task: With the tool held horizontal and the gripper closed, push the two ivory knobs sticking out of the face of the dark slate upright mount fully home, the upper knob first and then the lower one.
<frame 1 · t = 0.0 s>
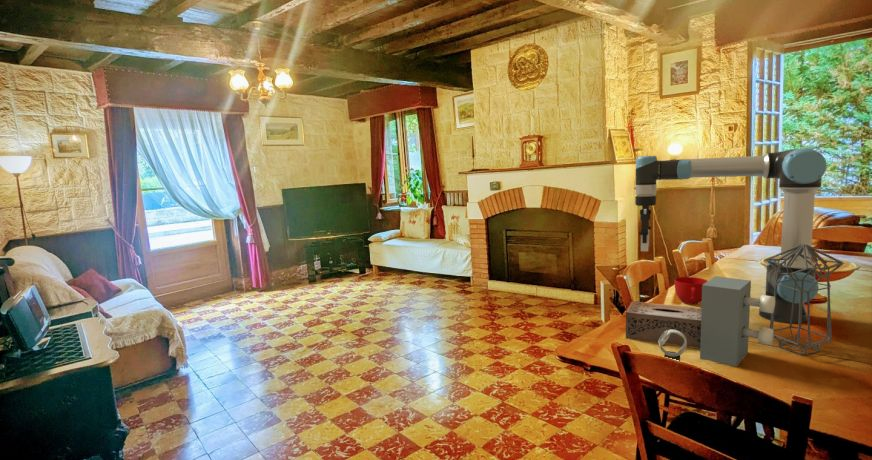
hand: (644, 248, 189), 28 cm above the table, tool pointing down, fingers open, 13 cm apart
knob mount: (742, 359, 147), on the table
lower knob: (754, 333, 144), point 9 cm above the table, slide at 4.0 cm
geometric lantern: (797, 350, 152), on the table
upper knob: (755, 302, 143), point 19 cm above the table, slide at 4.0 cm
watch: (671, 365, 146), on the table
ceramic cup: (691, 304, 205), on the table
tissue box cover: (666, 337, 169), on the table
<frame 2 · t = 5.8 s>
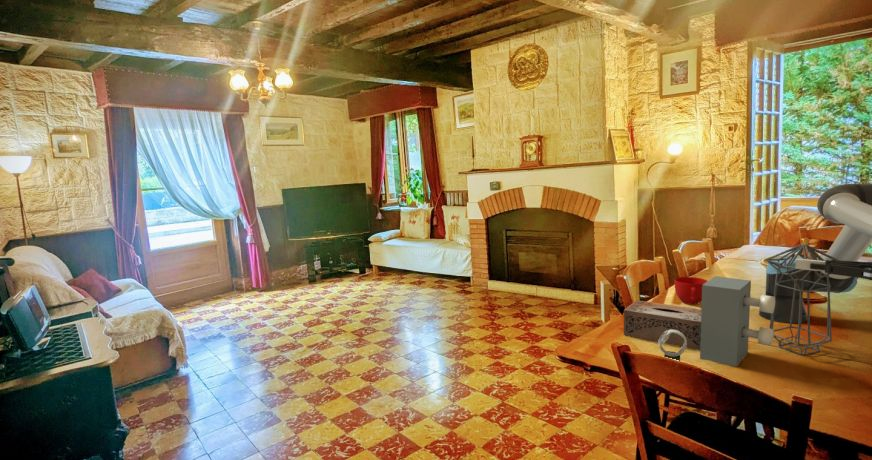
hand: (796, 263, 134), 32 cm above the table, tool horizontal, fingers closed
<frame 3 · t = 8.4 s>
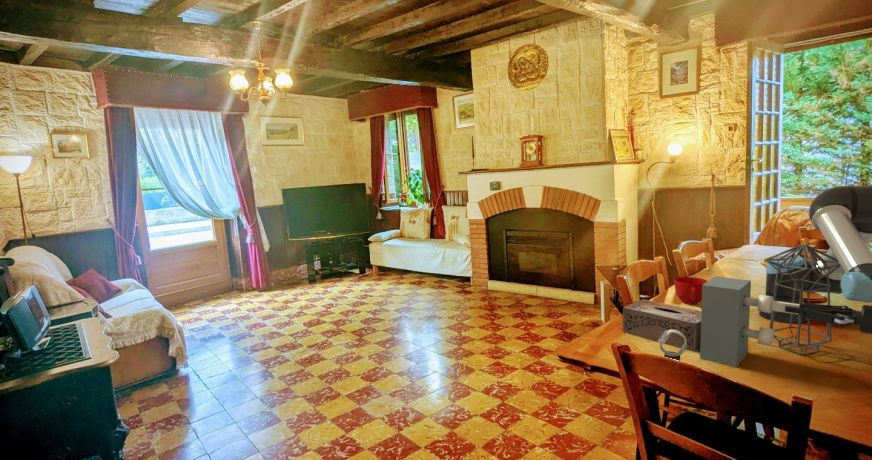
hand: (772, 305, 140), 19 cm above the table, tool horizontal, fingers closed
upper knob: (753, 302, 143), point 19 cm above the table, slide at 3.5 cm, touching gripper
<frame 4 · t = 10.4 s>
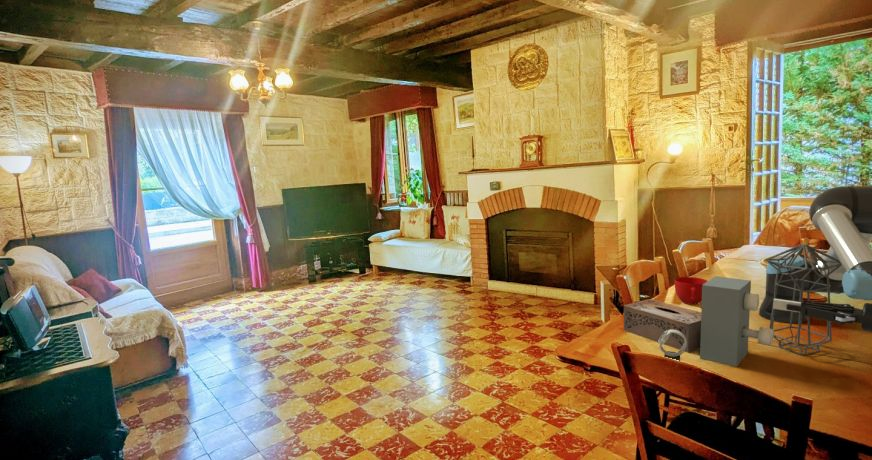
hand: (773, 303, 139), 19 cm above the table, tool horizontal, fingers closed
upper knob: (739, 300, 145), point 19 cm above the table, slide at -0.1 cm
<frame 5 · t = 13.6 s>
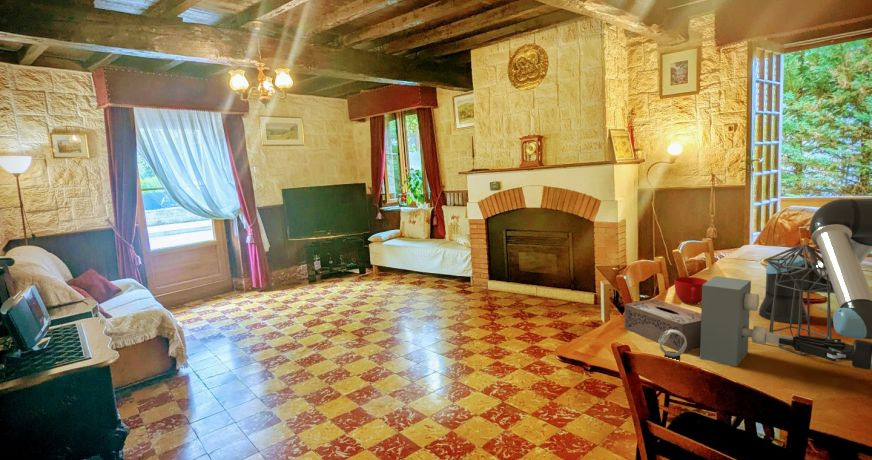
hand: (766, 336, 142), 9 cm above the table, tool horizontal, fingers closed
lower knob: (748, 332, 145), point 9 cm above the table, slide at 2.4 cm, touching gripper
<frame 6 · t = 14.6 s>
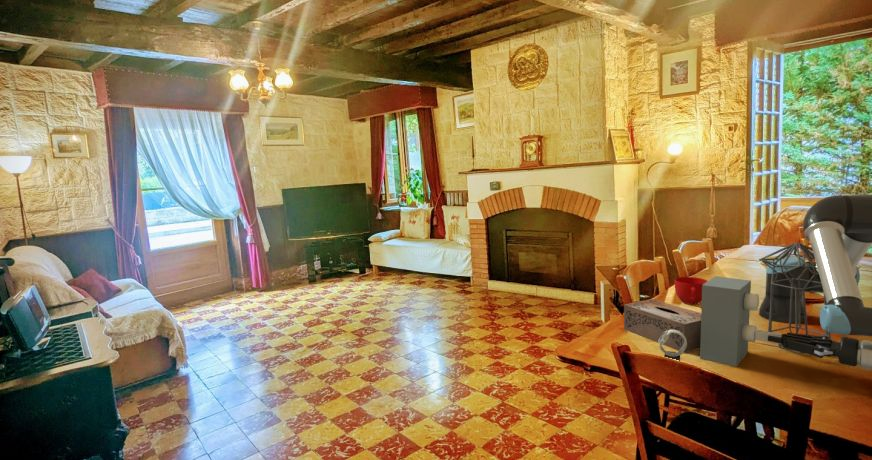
hand: (755, 334, 144), 9 cm above the table, tool horizontal, fingers closed
lower knob: (738, 330, 147), point 9 cm above the table, slide at -0.2 cm, touching gripper
geometric lantern: (797, 349, 152), on the table, touching arm
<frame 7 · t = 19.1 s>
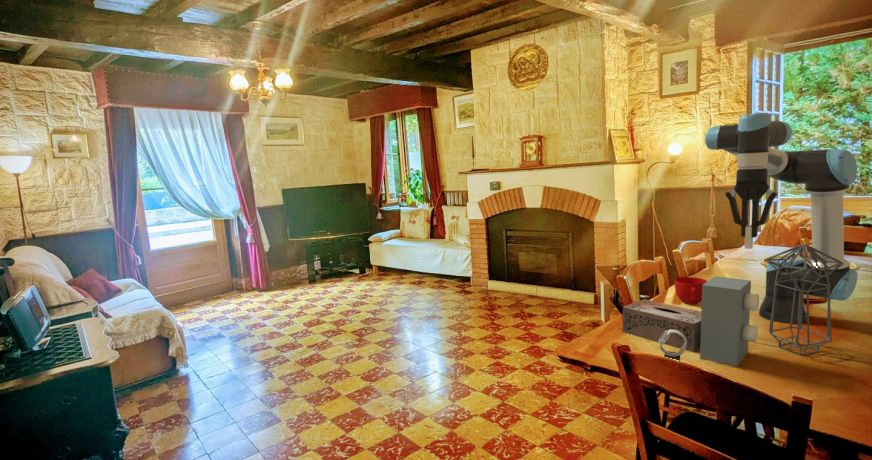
hand: (748, 247, 139), 36 cm above the table, tool pointing down, fingers closed
lower knob: (738, 331, 147), point 9 cm above the table, slide at -0.1 cm
geometric lantern: (797, 350, 152), on the table
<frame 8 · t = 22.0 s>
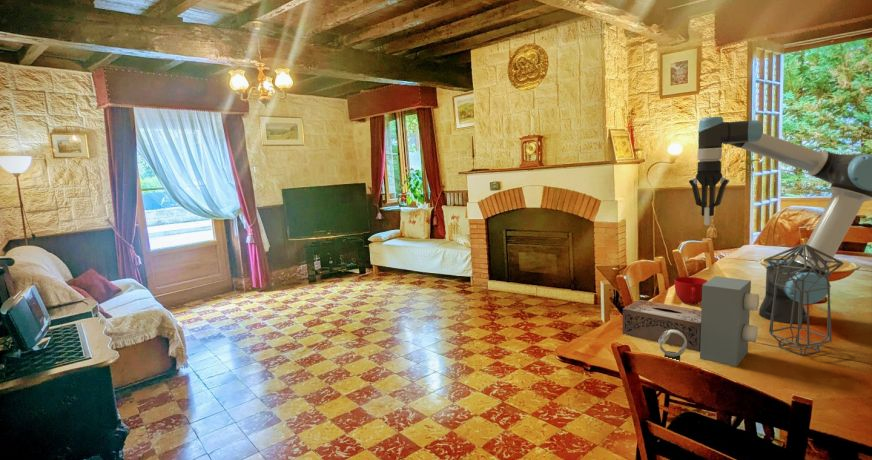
hand: (707, 224, 174), 38 cm above the table, tool pointing down, fingers closed
at the end: upper knob slide at -0.1 cm; lower knob slide at -0.1 cm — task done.
